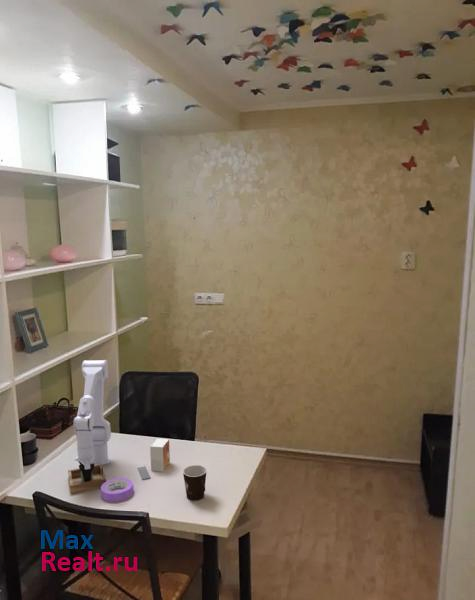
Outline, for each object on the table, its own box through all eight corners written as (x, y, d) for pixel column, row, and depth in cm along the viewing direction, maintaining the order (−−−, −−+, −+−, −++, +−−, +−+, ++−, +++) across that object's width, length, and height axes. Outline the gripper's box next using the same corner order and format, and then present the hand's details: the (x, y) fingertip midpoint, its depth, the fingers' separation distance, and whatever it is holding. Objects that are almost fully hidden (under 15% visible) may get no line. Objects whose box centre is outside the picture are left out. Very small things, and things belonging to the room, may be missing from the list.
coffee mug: (184, 490, 180) (183, 465, 179) (206, 489, 181) (206, 464, 180) (183, 508, 169) (182, 481, 167) (207, 506, 170) (206, 480, 168)
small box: (163, 471, 195) (162, 447, 193) (150, 470, 196) (149, 446, 194) (170, 462, 203) (169, 439, 201) (157, 461, 204) (156, 438, 202)
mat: (120, 472, 195) (120, 471, 195) (145, 467, 199) (145, 466, 199) (125, 483, 186) (124, 482, 186) (150, 478, 190) (150, 477, 190)
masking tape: (112, 484, 186) (112, 475, 185) (139, 489, 182) (138, 479, 182) (94, 500, 175) (94, 490, 174) (122, 505, 171) (122, 495, 171)
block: (81, 480, 188) (80, 466, 187) (91, 478, 189) (91, 464, 188) (82, 485, 184) (81, 470, 183) (93, 483, 186) (92, 468, 185)
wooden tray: (68, 478, 190) (68, 470, 190) (102, 472, 195) (101, 464, 195) (70, 495, 178) (70, 486, 178) (106, 487, 183) (106, 479, 183)
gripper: (72, 439, 190) (74, 472, 192) (75, 455, 176) (77, 489, 178) (91, 436, 192) (93, 468, 194) (95, 451, 179) (97, 485, 181)
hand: (86, 478), depth 187 cm, fingers closed on block, 4 cm apart
